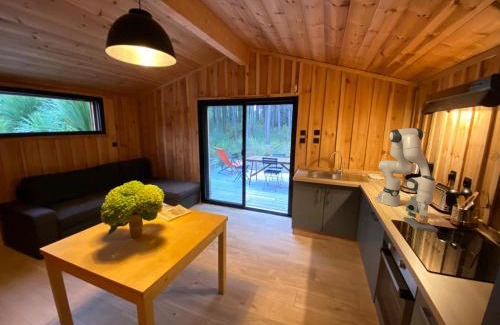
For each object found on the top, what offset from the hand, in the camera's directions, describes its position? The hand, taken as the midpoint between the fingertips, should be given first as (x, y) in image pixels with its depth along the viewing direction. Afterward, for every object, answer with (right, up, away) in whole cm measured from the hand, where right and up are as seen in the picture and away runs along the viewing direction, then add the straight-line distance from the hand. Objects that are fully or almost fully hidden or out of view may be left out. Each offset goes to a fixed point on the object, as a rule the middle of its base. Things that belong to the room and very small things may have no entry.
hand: (420, 218), depth 153 cm
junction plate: (0, -6, +1) cm, 6 cm away
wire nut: (+1, -2, 0) cm, 2 cm away
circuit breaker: (+8, -3, +18) cm, 20 cm away
